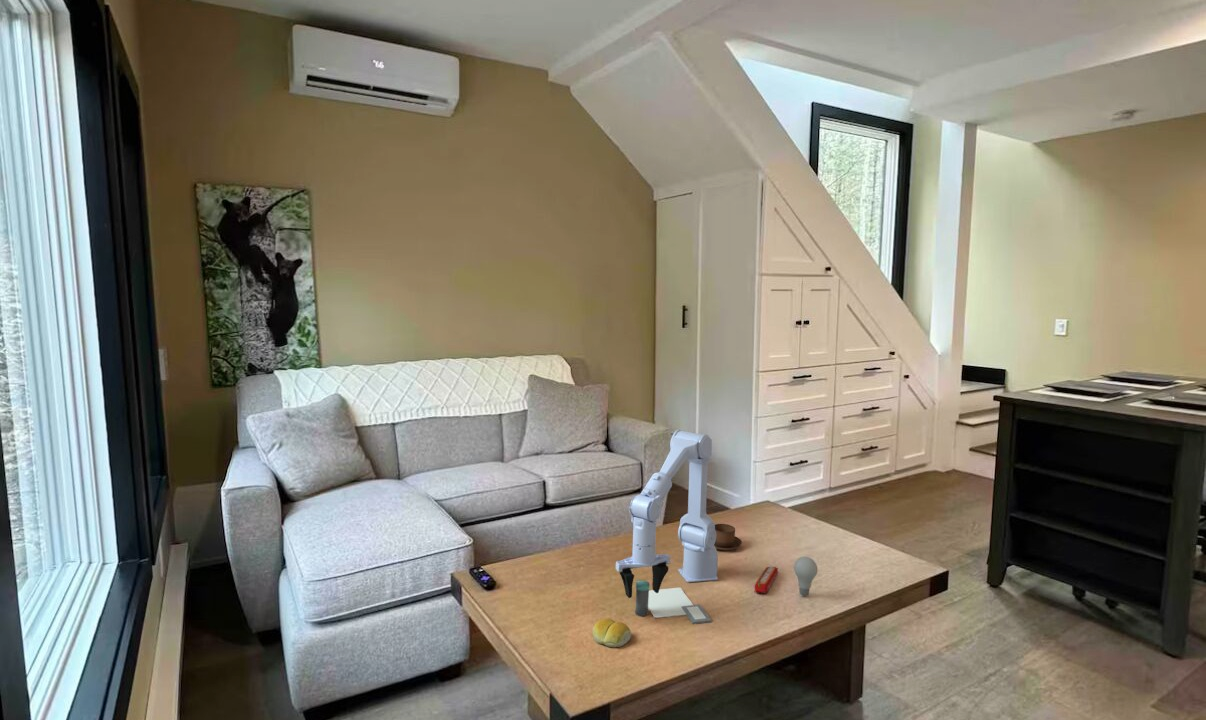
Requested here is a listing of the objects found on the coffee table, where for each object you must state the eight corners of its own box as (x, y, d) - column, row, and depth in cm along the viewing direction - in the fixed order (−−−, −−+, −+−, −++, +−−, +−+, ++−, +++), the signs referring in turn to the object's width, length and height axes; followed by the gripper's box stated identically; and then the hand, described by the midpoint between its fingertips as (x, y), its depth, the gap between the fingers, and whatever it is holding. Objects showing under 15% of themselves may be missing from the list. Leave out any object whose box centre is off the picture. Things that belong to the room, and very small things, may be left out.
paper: (680, 588, 177) (680, 587, 177) (699, 613, 163) (699, 612, 163) (638, 591, 174) (638, 591, 174) (654, 618, 160) (654, 617, 160)
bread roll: (603, 625, 157) (604, 609, 157) (635, 636, 152) (635, 620, 152) (584, 640, 150) (585, 624, 150) (617, 652, 145) (617, 636, 145)
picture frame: (699, 606, 167) (699, 604, 167) (711, 622, 159) (711, 619, 159) (681, 608, 166) (681, 605, 166) (692, 624, 158) (692, 621, 158)
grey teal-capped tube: (646, 609, 165) (647, 579, 164) (650, 615, 161) (651, 585, 161) (633, 610, 164) (634, 581, 163) (637, 617, 161) (638, 587, 160)
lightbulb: (815, 593, 176) (818, 555, 175) (815, 603, 170) (818, 564, 169) (792, 589, 178) (795, 551, 177) (791, 599, 172) (794, 560, 171)
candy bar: (766, 572, 189) (767, 562, 188) (779, 575, 187) (779, 565, 187) (752, 594, 175) (752, 584, 174) (765, 597, 173) (766, 587, 173)
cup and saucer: (703, 537, 214) (704, 519, 213) (740, 540, 212) (741, 522, 211) (704, 552, 202) (705, 533, 201) (743, 555, 200) (744, 536, 199)
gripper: (662, 533, 167) (660, 582, 168) (611, 540, 161) (609, 591, 163) (675, 543, 160) (673, 594, 162) (622, 551, 155) (621, 603, 156)
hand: (642, 593), depth 162 cm, fingers open, 7 cm apart
